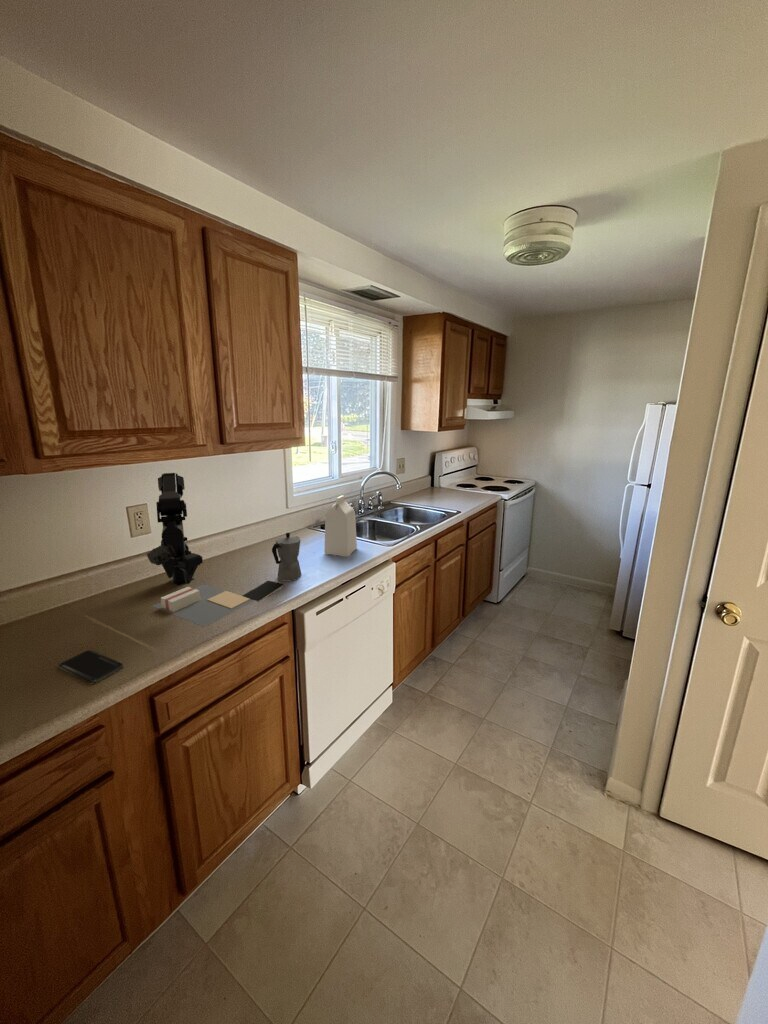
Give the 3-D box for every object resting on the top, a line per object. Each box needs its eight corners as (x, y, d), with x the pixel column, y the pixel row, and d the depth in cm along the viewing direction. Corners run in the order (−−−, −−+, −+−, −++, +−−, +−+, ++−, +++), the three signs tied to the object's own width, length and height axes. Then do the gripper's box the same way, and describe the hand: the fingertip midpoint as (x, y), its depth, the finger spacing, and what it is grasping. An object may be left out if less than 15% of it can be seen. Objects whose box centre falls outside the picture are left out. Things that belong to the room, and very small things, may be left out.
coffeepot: (291, 568, 170) (289, 526, 166) (309, 573, 166) (308, 530, 162) (264, 582, 157) (262, 536, 152) (284, 587, 153) (281, 541, 148)
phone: (92, 682, 98) (56, 664, 104) (93, 686, 98) (57, 668, 104) (125, 664, 105) (89, 649, 111) (125, 668, 105) (90, 652, 111)
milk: (347, 556, 185) (347, 500, 178) (324, 554, 188) (323, 498, 181) (357, 548, 196) (357, 495, 190) (334, 545, 199) (333, 493, 193)
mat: (151, 607, 136) (151, 604, 136) (204, 585, 153) (203, 583, 153) (204, 628, 124) (203, 626, 123) (254, 602, 140) (254, 600, 140)
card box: (173, 612, 132) (172, 602, 131) (161, 607, 135) (160, 597, 134) (200, 600, 140) (199, 590, 139) (189, 595, 143) (188, 586, 142)
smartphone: (239, 596, 143) (267, 580, 157) (240, 599, 144) (267, 583, 157) (258, 601, 140) (284, 583, 154) (258, 604, 141) (285, 586, 154)
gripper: (131, 537, 129) (138, 583, 133) (168, 547, 121) (174, 596, 124) (165, 528, 139) (170, 571, 143) (201, 538, 130) (206, 583, 134)
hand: (179, 580), depth 136 cm, fingers open, 9 cm apart
